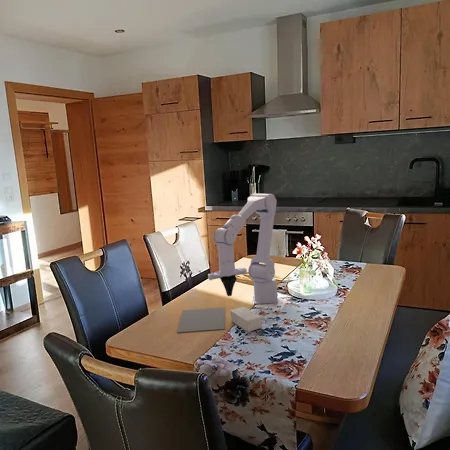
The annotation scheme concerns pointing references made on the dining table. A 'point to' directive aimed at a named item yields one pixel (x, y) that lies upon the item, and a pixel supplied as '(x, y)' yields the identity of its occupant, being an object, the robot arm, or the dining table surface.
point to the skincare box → (246, 319)
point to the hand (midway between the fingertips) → (229, 295)
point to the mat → (202, 320)
